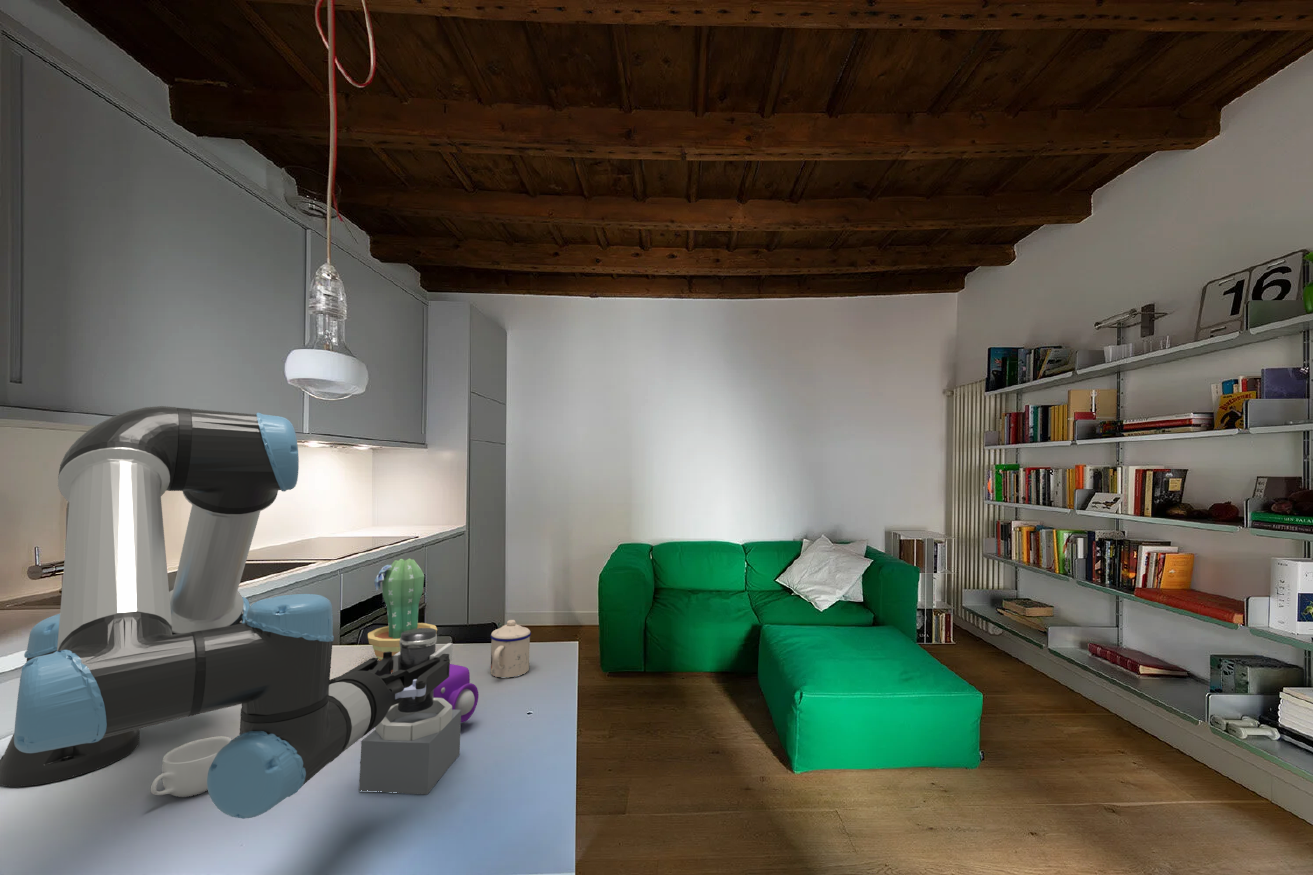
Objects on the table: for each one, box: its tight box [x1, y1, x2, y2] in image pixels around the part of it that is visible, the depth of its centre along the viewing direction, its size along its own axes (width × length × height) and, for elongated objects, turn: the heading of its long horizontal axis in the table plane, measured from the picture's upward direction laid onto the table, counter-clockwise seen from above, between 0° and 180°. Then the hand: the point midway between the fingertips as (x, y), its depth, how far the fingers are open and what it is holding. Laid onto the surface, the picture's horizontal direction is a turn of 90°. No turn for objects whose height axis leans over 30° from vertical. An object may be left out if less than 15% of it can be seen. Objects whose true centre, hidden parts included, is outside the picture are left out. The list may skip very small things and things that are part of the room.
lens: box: [398, 628, 438, 713], centre depth 82 cm, size 5×5×11 cm
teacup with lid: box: [490, 619, 532, 678], centre depth 122 cm, size 12×9×12 cm
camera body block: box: [358, 698, 462, 795], centre depth 81 cm, size 10×11×9 cm
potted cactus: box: [367, 558, 438, 673], centre depth 128 cm, size 15×15×25 cm
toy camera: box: [433, 663, 479, 724], centre depth 97 cm, size 11×14×10 cm
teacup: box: [150, 735, 233, 798], centre depth 75 cm, size 10×8×5 cm
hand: (433, 651), depth 87 cm, fingers closed on lens, 5 cm apart
